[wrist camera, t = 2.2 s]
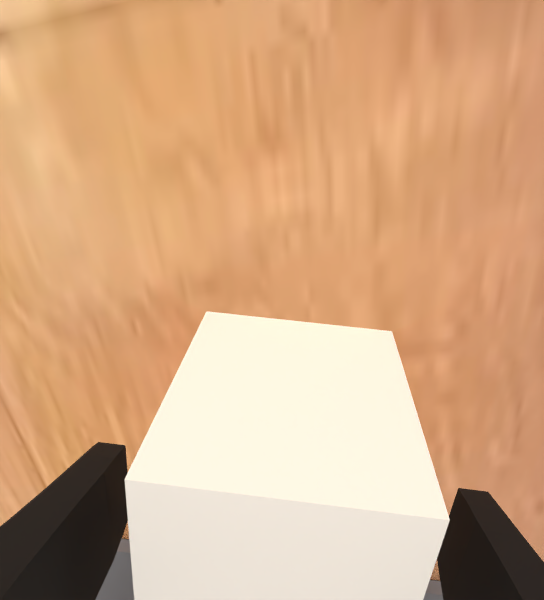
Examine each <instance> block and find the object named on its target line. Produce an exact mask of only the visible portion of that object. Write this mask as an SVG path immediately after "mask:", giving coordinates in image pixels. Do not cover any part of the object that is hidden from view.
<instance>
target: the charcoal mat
mask: <svg viewBox="0 0 544 600" xmlns="http://www.w3.org/2000/svg"><path fill="white" fill-rule="evenodd" d="M95 600H134V590H133V578H132V565H131V553H130V541H129V540H128V539H121V541H120V544H119V547H118V550H117V553H116V555H115V558H114V561H113V563H112V565H111V567H110V569H109V572H108V574H107V576H106V578H105V580H104V582H103V584H102V587H101V589H100V591H99V593H98V595H97V597H96V599H95ZM423 600H443V594H442V588H441V582H440V581H435V580H430V581H429V584H428V587H427V590H426V593H425V596H424V599H423Z"/></svg>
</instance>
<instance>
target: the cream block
mask: <svg viewBox="0 0 544 600" xmlns="http://www.w3.org/2000/svg"><path fill="white" fill-rule="evenodd" d="M125 491H126V504H127V516H128V528H129V541H130V553H131V565H132V578H133V590H134V600H423V599H424V596H425V593H426V590H427V587H428V584H429V581H430V578H431V575H432V572H433V569H434V566H435V563H436V560H437V557H438V554H439V551H440V548H441V545H442V542H443V539H444V536H445V533H446V530H447V527H448V524H449V521H450V519H449V516H448V513H447V510H446V506H445V503H444V500H443V497H442V493H441V490H440V487H439V483H438V480H437V477H436V474H435V470H434V467H433V464H432V461H431V457H430V454H429V451H428V448H427V444H426V441H425V438H424V434H423V431H422V428H421V425H420V421H419V418H418V415H417V412H416V408H415V405H414V402H413V399H412V395H411V392H410V389H409V386H408V382H407V379H406V376H405V372H404V369H403V366H402V363H401V359H400V356H399V353H398V350H397V346H396V343H395V340H394V337H393V333H392V331H384V330H375V329H365V328H356V327H347V326H337V325H328V324H319V323H309V322H300V321H291V320H281V319H272V318H263V317H253V316H244V315H235V314H225V313H216V312H206V314H205V316H204V318H203V320H202V322H201V324H200V326H199V328H198V330H197V332H196V334H195V336H194V338H193V340H192V342H191V344H190V346H189V349H188V351H187V353H186V355H185V357H184V359H183V361H182V363H181V365H180V367H179V369H178V371H177V373H176V375H175V377H174V379H173V381H172V383H171V385H170V387H169V390H168V392H167V394H166V396H165V398H164V400H163V402H162V404H161V406H160V408H159V410H158V412H157V414H156V416H155V418H154V420H153V422H152V424H151V426H150V428H149V430H148V433H147V435H146V437H145V439H144V441H143V443H142V445H141V447H140V449H139V451H138V453H137V455H136V457H135V459H134V461H133V463H132V465H131V467H130V469H129V471H128V473H127V476H126V478H125Z"/></svg>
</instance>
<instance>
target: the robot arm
mask: <svg viewBox="0 0 544 600" xmlns="http://www.w3.org/2000/svg"><path fill="white" fill-rule="evenodd" d="M126 476H127V461H126V448H125V445H117V444H109V443H101V442H98V443H97V444H95V445H94V446H93V447H92V448H91V449H89V450H88V451H87V452H86V453H85V454H84V455H83V456H82V457H80V458H79V459H78V460H77V461H76V462H75V463H74V464H73V465H71V466H70V467H69V468H68V469H67V470H66V471H65V472H64V473H63V474H61V475H60V476H59V477H58V478H57V479H56V480H55V481H53V482H52V483H51V484H50V485H49V486H48V487H47V488H45V489H44V490H43V491H42V492H41V493H40V494H39V495H37V496H36V497H35V498H34V499H33V500H31V501H30V502H29V503H28V504H27V505H26V506H24V507H23V508H22V509H21V510H20V511H18V512H17V513H16V514H15V515H14V516H13V517H11V518H10V519H9V520H8V521H7V522H5V523H4V524H3V525H2V526H0V600H95V599H96V597H97V595H98V593H99V591H100V589H101V587H102V584H103V582H104V580H105V578H106V576H107V574H108V572H109V569H110V567H111V565H112V563H113V561H114V558H115V555H116V553H117V550H118V547H119V544H120V541H121V539H122V536H123V533H124V530H125V527H126V524H127V521H128V516H127V504H126V491H125V478H126ZM449 519H450V521H449V524H448V527H447V530H446V533H445V536H444V539H443V542H442V545H441V548H440V551H439V554H438V557H437V561H438V568H439V575H440V582H441V588H442V594H443V600H544V562H543V561H542V560H541V558H540V557H539V556H538V555H537V553H536V552H535V551H534V549H533V548H532V547H531V546H530V544H529V543H528V542H527V541H526V539H525V538H524V537H523V536H522V534H521V533H520V532H519V531H518V529H517V528H516V527H515V525H514V524H513V523H512V522H511V520H510V519H509V518H508V517H507V515H506V514H505V513H504V511H503V510H502V509H501V508H500V506H499V505H498V504H497V503H496V501H495V500H494V499H493V498H492V496H491V495H490V494H489V493H488V492H485V491H477V490H469V489H461V488H458V491H457V494H456V497H455V500H454V503H453V506H452V509H451V512H450V515H449Z"/></svg>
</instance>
